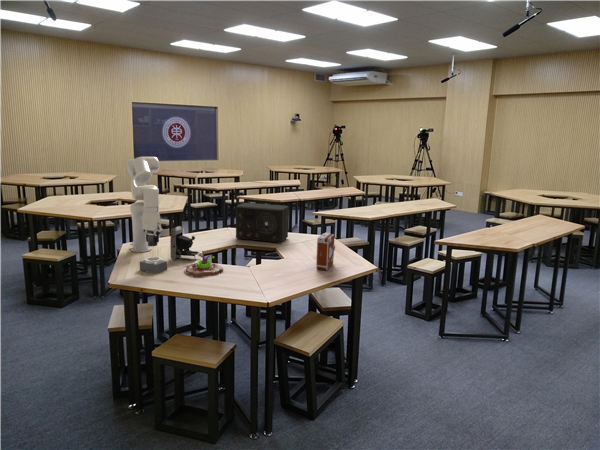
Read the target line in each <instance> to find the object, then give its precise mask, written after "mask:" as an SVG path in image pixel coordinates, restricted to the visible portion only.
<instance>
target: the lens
mask: <svg viewBox="0 0 600 450" xmlns="http://www.w3.org/2000/svg"><path fill="white" fill-rule="evenodd" d="M156 233H157V231H156ZM147 235H148V246H150V247H157V246H158V242H157V243H154V236H155V235H154V231H147Z"/></svg>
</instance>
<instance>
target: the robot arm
mask: <svg viewBox="0 0 600 450" xmlns="http://www.w3.org/2000/svg"><path fill="white" fill-rule="evenodd" d="M160 166H161V165H160V161H159V159H158V157H156V156H139V157H135V158H131V159H128V160H127V161H126V169H127V172H128V174H129V176H130V190H131V196H132V199H133V200H135V201H136V202H133V203H131V204H130V207H129V210H130V215H131V221H132V223H131V224H132V225H131V226H132V241H131V243H129V245H130V246H131V248H130V249H131V252H134V253H144V252H145V253H146V252H149V251H151V250H152V246H148V235H147V231H154V235H155V236H154V243H157V244H158V243H159V242H160V235H161V233H162V232H163V227H162V225H161V224H162V221H161V215H160V207H159V206H160V204H159V203H160V201H159V194H160V190H159V188H158V187H157V186H156V185H154V184H146V183H147V182H149V181H150V180H151V179H152V177H153V174H152V173H156V172H158V171H159V169H160ZM156 231H157V233H156Z"/></svg>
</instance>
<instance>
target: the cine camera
mask: <svg viewBox="0 0 600 450" xmlns="http://www.w3.org/2000/svg"><path fill="white" fill-rule="evenodd" d="M335 251H336V245H335V234H334V233H331V232H324V233H322V234H321V235H319V236H317V241H316V258H315V259H316V263H315V264H316V265H315V267H316V270H320V271H328V270H330V268H332V266H333V265H334V258H335V257H334V256H335V255H334V254H335Z"/></svg>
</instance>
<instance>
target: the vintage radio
mask: <svg viewBox="0 0 600 450" xmlns="http://www.w3.org/2000/svg"><path fill="white" fill-rule="evenodd" d="M289 208H290V207H289V206H288V205H280V204H268V203H267V204H266V203H253V202H252V203H251V202H243V203H240V204H238V205H236V206H235V238H236V239H238V240H239V239H242V240H243V239H244V240H251V241H261V242H273V243H275V244H280V243H282V242H284V241H285V240H286V239H287V238H288V237H289V217H290V216H289V213H290V211H289V210H290V209H289Z"/></svg>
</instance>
